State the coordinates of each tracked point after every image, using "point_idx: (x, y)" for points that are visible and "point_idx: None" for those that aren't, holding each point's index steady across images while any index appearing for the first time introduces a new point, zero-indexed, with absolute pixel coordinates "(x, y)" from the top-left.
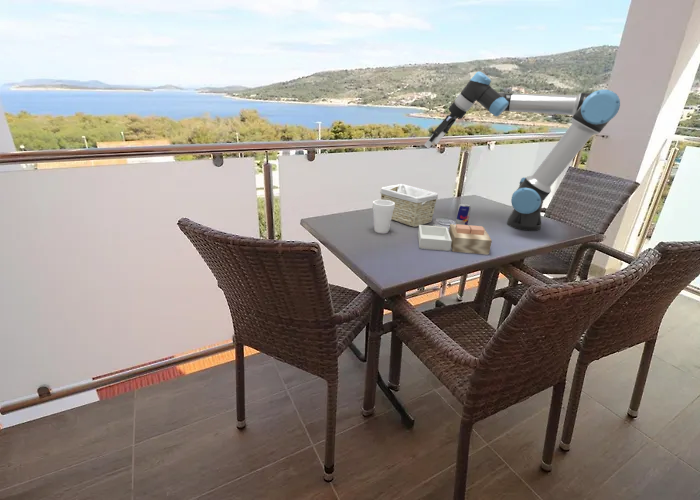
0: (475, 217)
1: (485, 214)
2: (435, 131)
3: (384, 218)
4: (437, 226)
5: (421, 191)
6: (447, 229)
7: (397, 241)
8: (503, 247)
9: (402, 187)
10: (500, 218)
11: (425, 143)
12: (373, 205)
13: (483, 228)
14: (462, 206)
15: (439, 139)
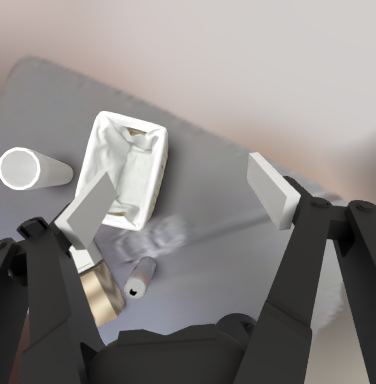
0: (226, 264)
1: (256, 272)
2: (8, 259)
3: (30, 181)
4: (87, 251)
5: (146, 190)
6: (85, 269)
7: (41, 212)
8: (118, 334)
9: (158, 138)
10: (250, 299)
11: (94, 178)
12: (8, 156)
13: (109, 319)
14: (124, 287)
15: (257, 192)
